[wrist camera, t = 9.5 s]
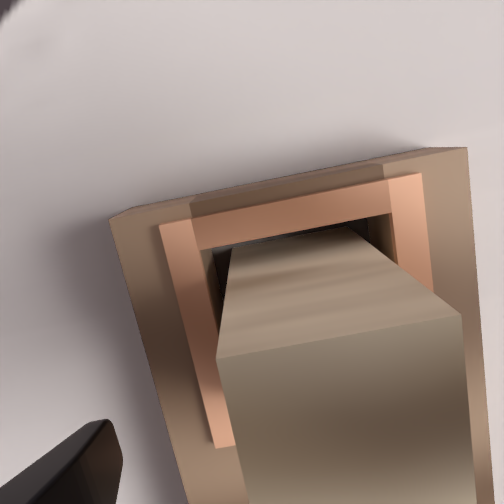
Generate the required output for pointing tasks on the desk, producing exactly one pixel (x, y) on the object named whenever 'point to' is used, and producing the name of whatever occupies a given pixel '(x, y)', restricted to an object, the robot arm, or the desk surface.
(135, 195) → the desk surface
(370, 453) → the maple peg
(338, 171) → the walnut hole board
